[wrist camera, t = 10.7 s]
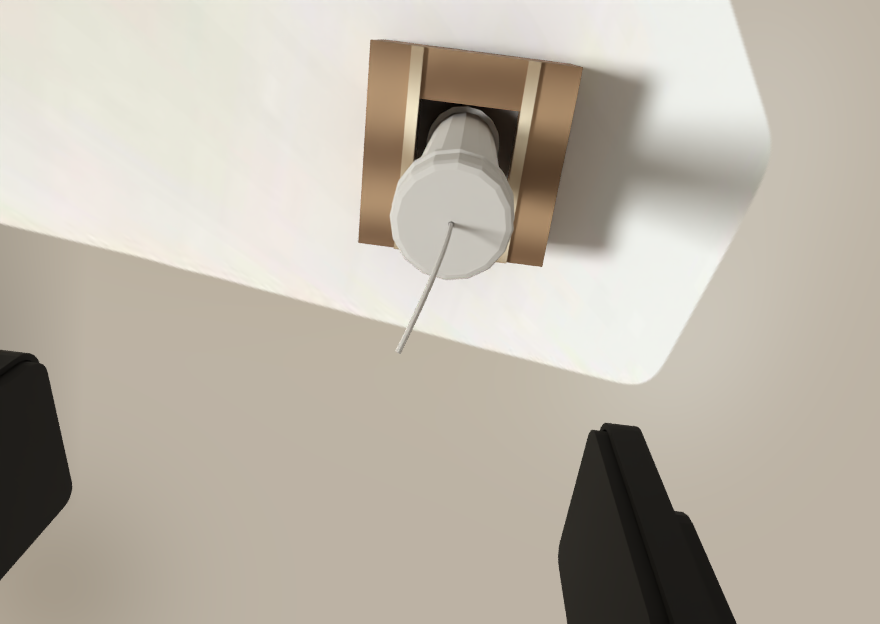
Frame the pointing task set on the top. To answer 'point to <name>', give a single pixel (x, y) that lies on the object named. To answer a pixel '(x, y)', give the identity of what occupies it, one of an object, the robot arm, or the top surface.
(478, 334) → the top surface
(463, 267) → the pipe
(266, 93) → the top surface
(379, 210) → the socket block
